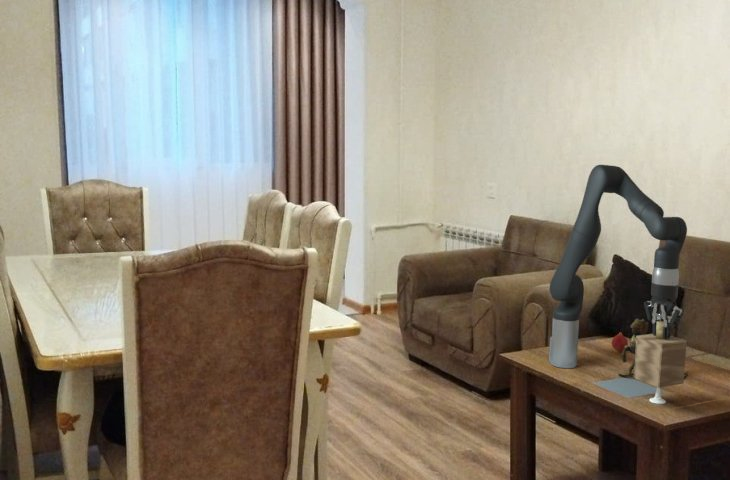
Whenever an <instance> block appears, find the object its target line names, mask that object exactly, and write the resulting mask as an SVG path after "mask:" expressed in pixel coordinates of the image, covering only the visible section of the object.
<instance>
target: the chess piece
mask: <svg viewBox="0 0 730 480" xmlns="http://www.w3.org/2000/svg"><path fill="white" fill-rule="evenodd" d="M656 388H657V389H656V393H654V394H655V395H654V396H653V397H650V398H649V400H648V401H649V402H650V403H653V404H656V405H664V404H666V403H667V402H666V399H664V398H662V395H661V394H662V392H660V390H661V388H659V387H656Z"/></svg>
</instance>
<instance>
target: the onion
mask: <svg viewBox="0 0 730 480" xmlns="http://www.w3.org/2000/svg"><path fill="white" fill-rule="evenodd" d="M611 346H612V348H613V349H614V350H615V351H616V352H617V353H623V350H624V346H629V344H628V339H627V338H626V336H624V334H623V333H622V332H621V331H620V332H619V333H618V334H615V335H614V337H613V338H612V340H611Z"/></svg>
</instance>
